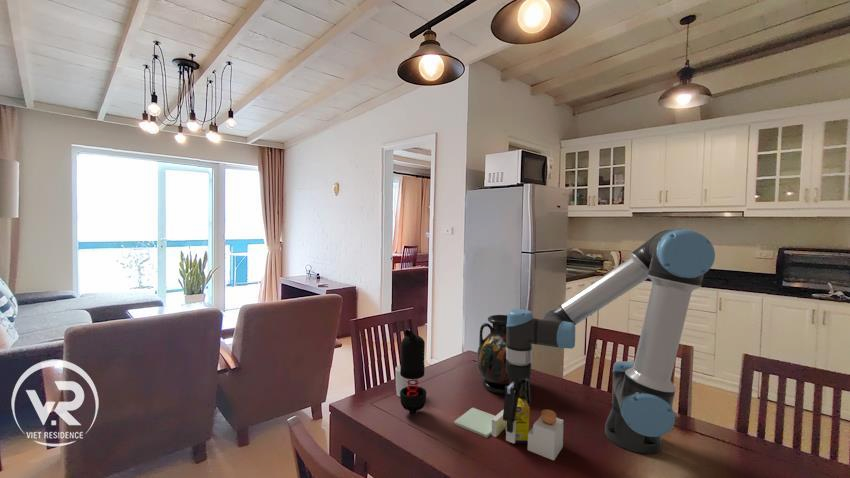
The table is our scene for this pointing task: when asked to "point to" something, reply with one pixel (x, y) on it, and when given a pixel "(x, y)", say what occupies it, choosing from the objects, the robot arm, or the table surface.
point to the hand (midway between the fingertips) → (516, 434)
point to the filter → (412, 372)
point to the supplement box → (522, 421)
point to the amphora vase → (493, 355)
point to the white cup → (401, 381)
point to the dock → (537, 436)
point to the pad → (476, 422)
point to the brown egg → (548, 416)
